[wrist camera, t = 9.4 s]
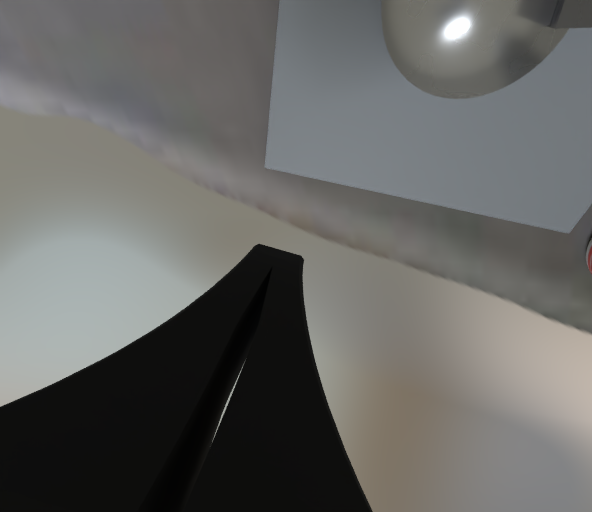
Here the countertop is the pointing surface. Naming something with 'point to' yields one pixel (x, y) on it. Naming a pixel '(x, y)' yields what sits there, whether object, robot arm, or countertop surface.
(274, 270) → the robot arm
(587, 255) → the pill bottle
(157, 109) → the countertop surface
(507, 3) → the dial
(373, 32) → the board
